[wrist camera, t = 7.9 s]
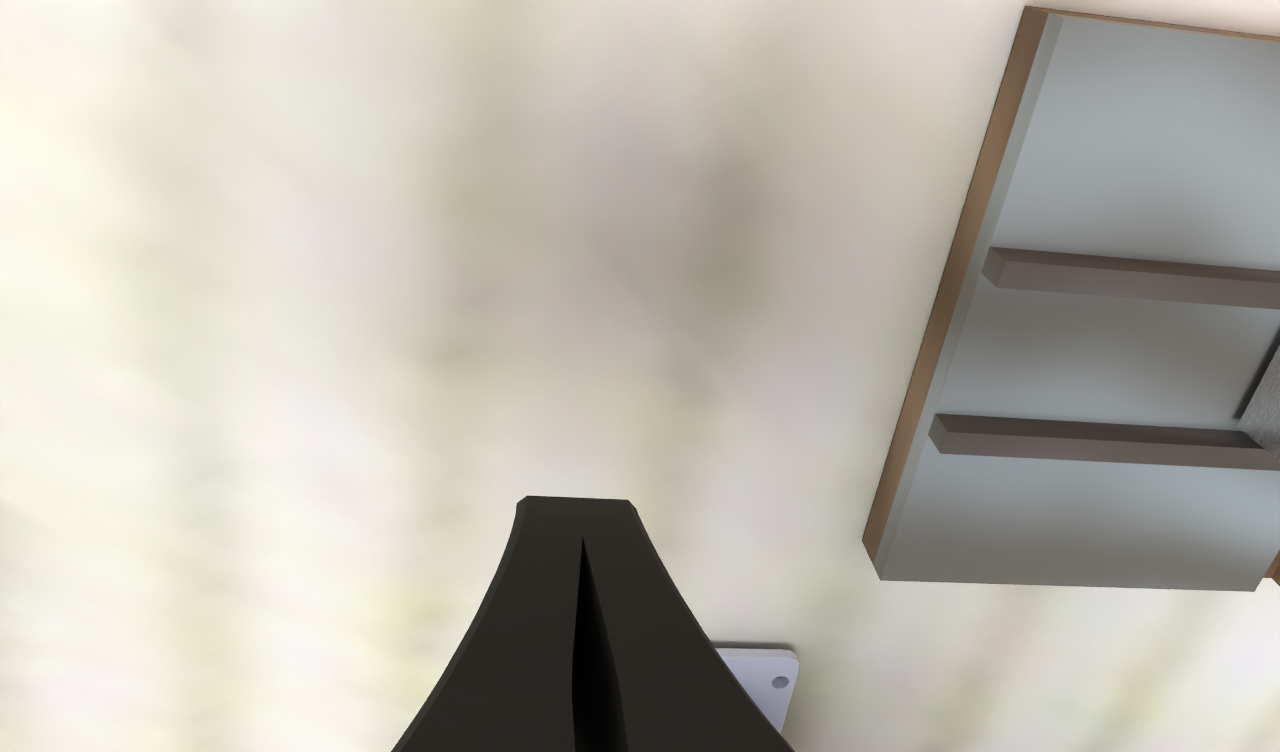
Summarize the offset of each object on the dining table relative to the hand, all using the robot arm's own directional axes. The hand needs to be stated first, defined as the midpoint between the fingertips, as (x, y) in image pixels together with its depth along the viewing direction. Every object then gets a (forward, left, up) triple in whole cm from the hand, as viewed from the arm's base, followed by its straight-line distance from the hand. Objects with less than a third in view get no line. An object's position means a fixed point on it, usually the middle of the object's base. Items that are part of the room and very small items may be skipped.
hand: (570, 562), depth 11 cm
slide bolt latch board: (-1, -20, -10) cm, 23 cm away
